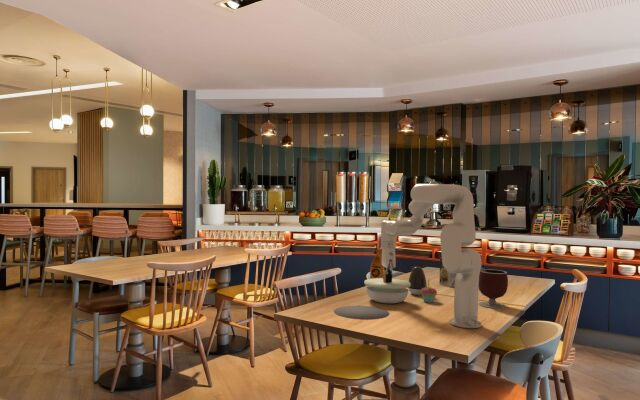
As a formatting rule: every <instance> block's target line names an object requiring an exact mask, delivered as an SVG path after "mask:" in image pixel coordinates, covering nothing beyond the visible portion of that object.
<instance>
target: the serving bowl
mask: <svg viewBox="0 0 640 400" xmlns="http://www.w3.org/2000/svg"><path fill="white" fill-rule="evenodd" d="M366 294H367V295H368V297H369V299H371V300H372V301H374V302H376V303H381V304H397V303H402V302H403V301H405V300H406V299H407V297H408V294H409V289H408V288H402V289H384V288H375V287H370V286H366Z"/></svg>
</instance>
